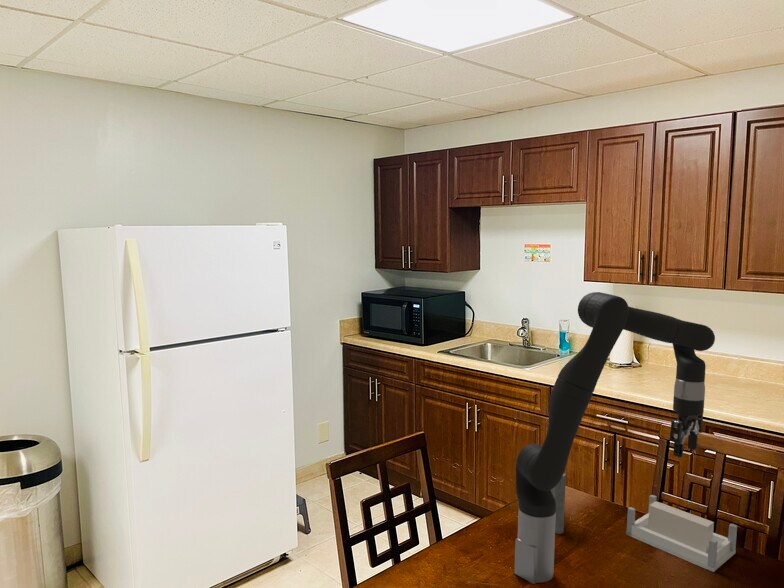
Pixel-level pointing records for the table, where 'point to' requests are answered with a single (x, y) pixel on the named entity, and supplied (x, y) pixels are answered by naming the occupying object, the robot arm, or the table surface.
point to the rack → (712, 561)
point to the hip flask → (559, 504)
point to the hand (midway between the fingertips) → (685, 452)
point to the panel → (680, 526)
